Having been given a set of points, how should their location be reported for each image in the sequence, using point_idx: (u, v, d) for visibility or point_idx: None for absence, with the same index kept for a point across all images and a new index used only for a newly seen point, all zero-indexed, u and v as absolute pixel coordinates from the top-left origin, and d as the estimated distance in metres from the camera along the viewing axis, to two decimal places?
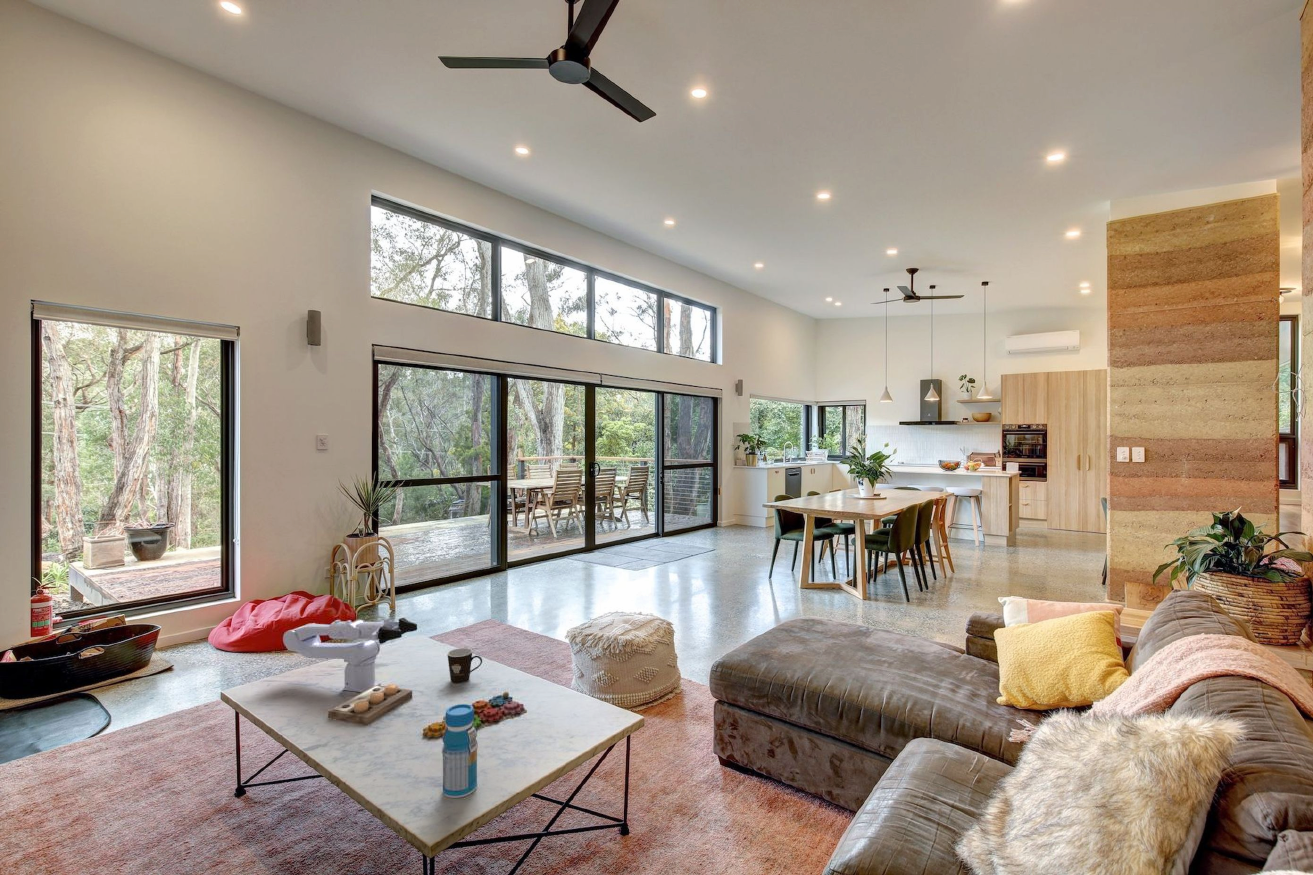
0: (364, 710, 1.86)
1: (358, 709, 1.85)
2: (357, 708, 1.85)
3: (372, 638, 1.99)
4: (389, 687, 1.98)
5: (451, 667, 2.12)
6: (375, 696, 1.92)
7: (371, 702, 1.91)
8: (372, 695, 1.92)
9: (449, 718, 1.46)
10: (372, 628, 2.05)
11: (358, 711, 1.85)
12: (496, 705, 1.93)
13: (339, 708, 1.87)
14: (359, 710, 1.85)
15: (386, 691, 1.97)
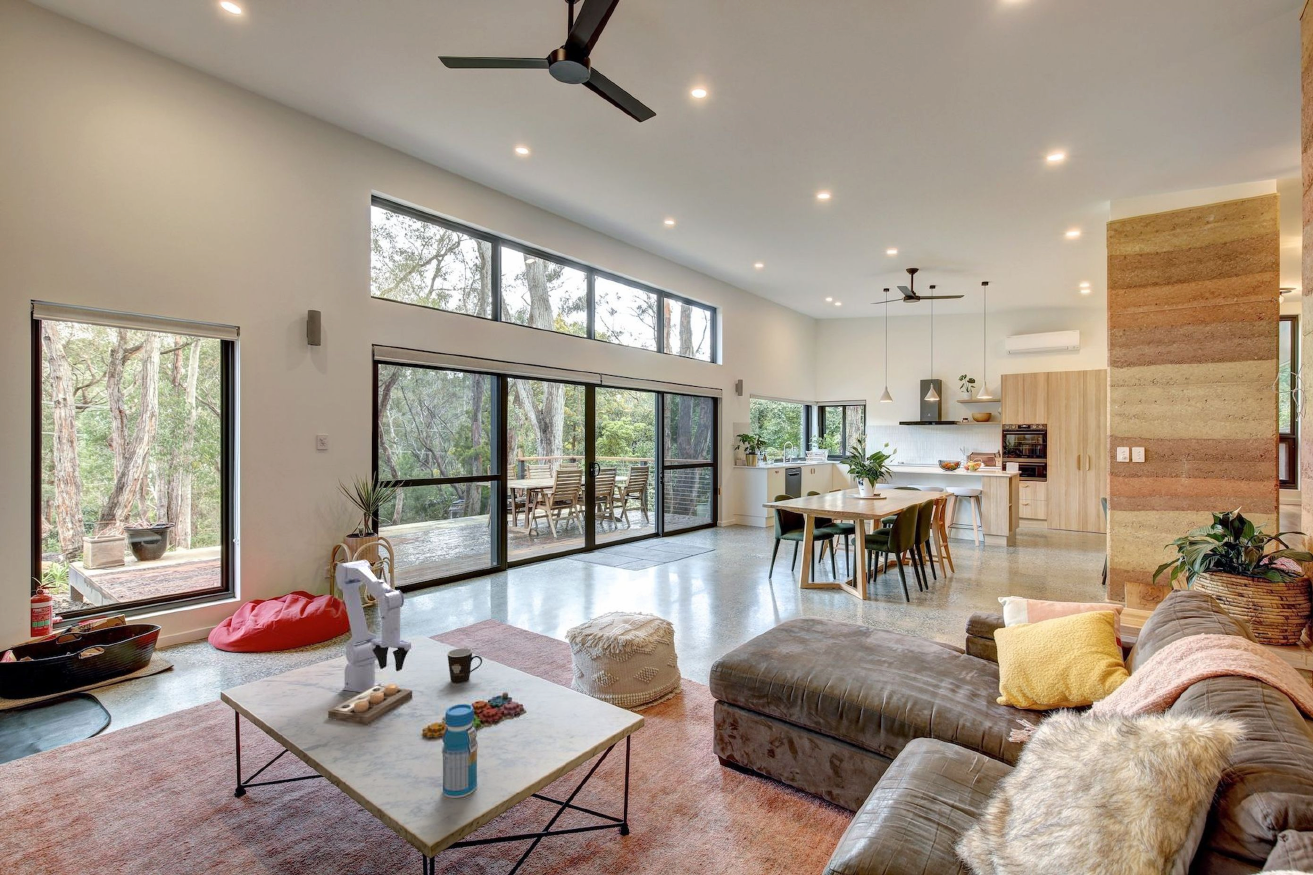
0: (364, 710, 1.86)
1: (358, 709, 1.85)
2: (357, 708, 1.85)
3: None
4: (389, 687, 1.98)
5: (451, 667, 2.12)
6: (375, 696, 1.92)
7: (371, 702, 1.91)
8: (372, 695, 1.92)
9: (449, 718, 1.46)
10: None
11: (358, 711, 1.85)
12: (495, 705, 1.93)
13: (339, 708, 1.87)
14: (359, 710, 1.85)
15: (386, 691, 1.97)
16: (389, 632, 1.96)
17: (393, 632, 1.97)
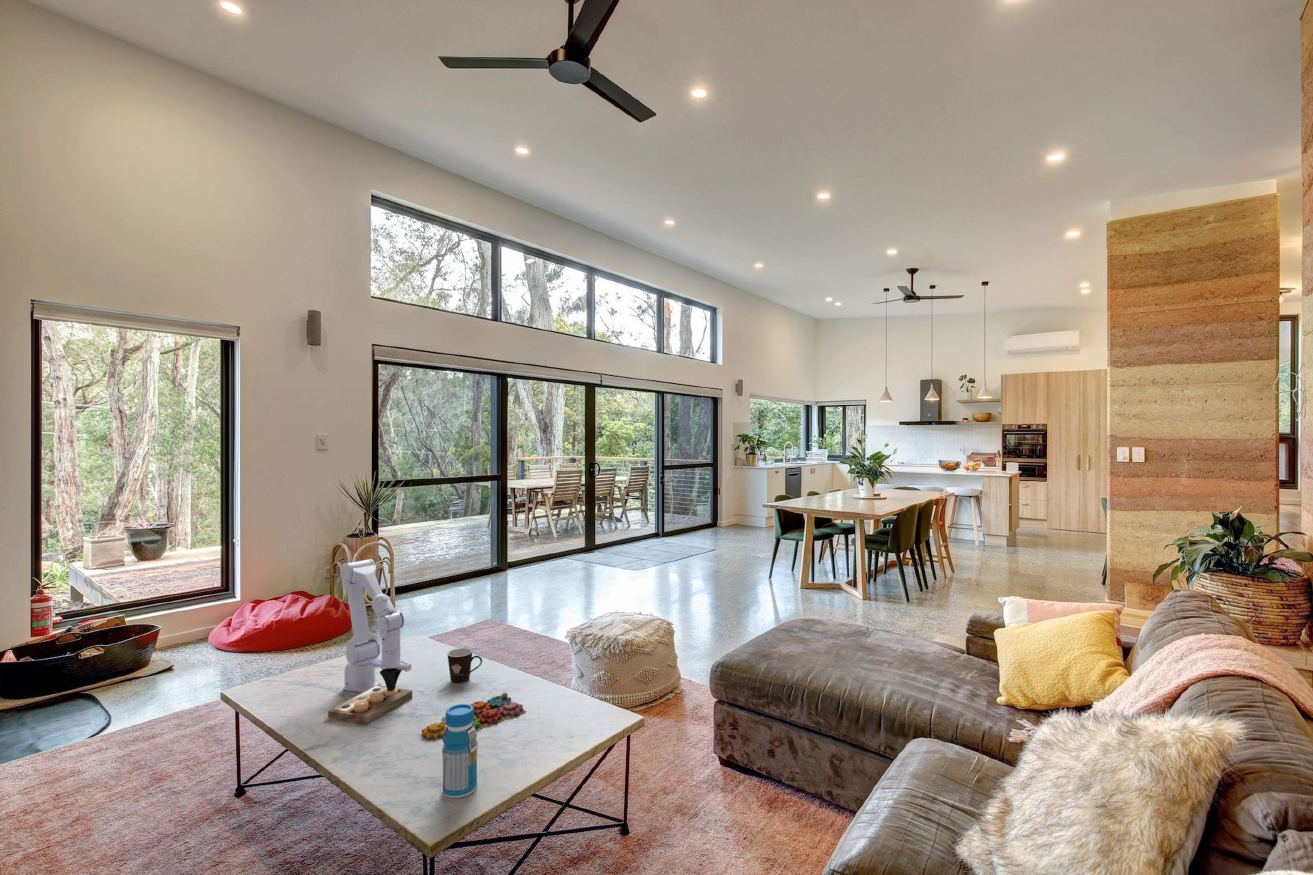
0: (364, 710, 1.86)
1: (358, 709, 1.85)
2: (357, 708, 1.85)
3: None
4: (389, 691, 1.98)
5: (451, 667, 2.12)
6: (375, 696, 1.92)
7: (371, 702, 1.91)
8: (372, 695, 1.92)
9: (449, 718, 1.46)
10: None
11: (358, 711, 1.85)
12: (495, 706, 1.92)
13: (339, 708, 1.87)
14: (359, 710, 1.85)
15: (386, 694, 1.97)
16: (389, 653, 1.96)
17: (393, 653, 1.97)
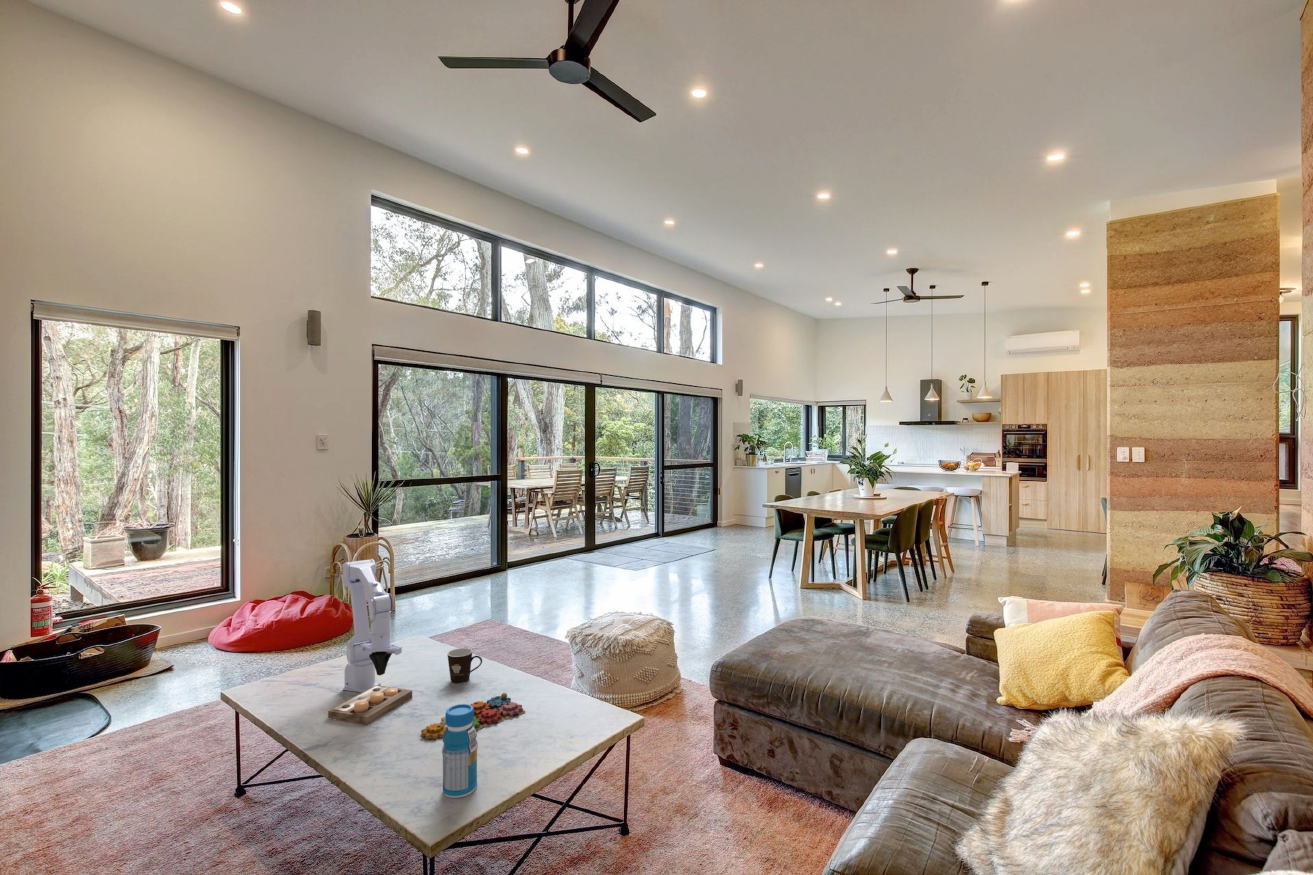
0: (364, 710, 1.86)
1: (358, 709, 1.85)
2: (357, 708, 1.85)
3: None
4: (389, 691, 1.98)
5: (451, 667, 2.12)
6: (375, 696, 1.92)
7: (371, 702, 1.91)
8: (372, 695, 1.92)
9: (449, 718, 1.46)
10: None
11: (358, 711, 1.85)
12: (494, 706, 1.92)
13: (339, 708, 1.87)
14: (359, 710, 1.85)
15: (386, 695, 1.97)
16: (379, 636, 1.92)
17: (383, 636, 1.92)
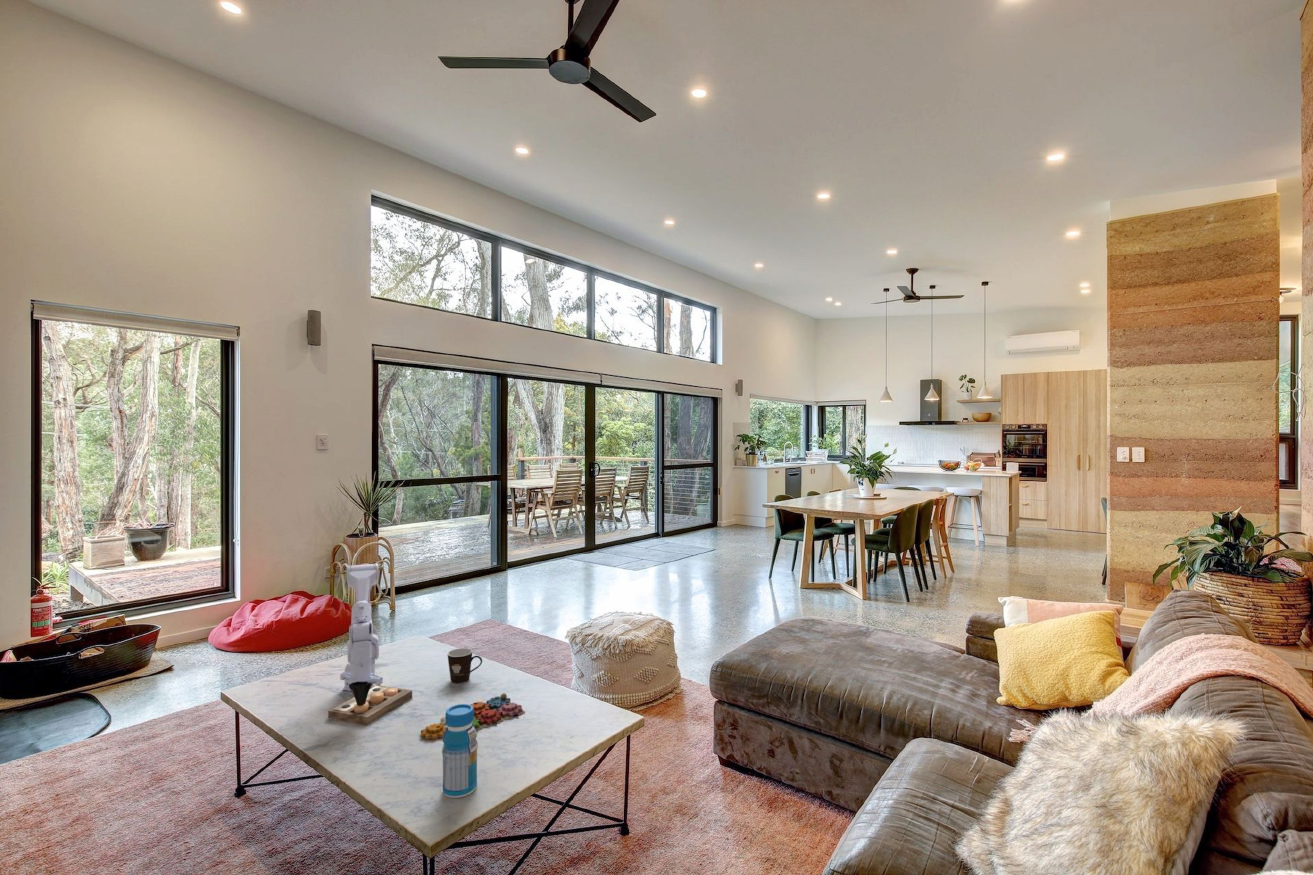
0: (364, 711, 1.86)
1: (358, 710, 1.85)
2: (357, 709, 1.85)
3: None
4: (389, 691, 1.98)
5: (451, 667, 2.12)
6: (375, 696, 1.92)
7: (371, 702, 1.91)
8: (372, 695, 1.92)
9: (449, 718, 1.46)
10: None
11: (358, 712, 1.85)
12: (494, 706, 1.92)
13: (339, 708, 1.87)
14: (359, 711, 1.85)
15: (386, 695, 1.97)
16: (359, 666, 1.84)
17: (363, 666, 1.85)
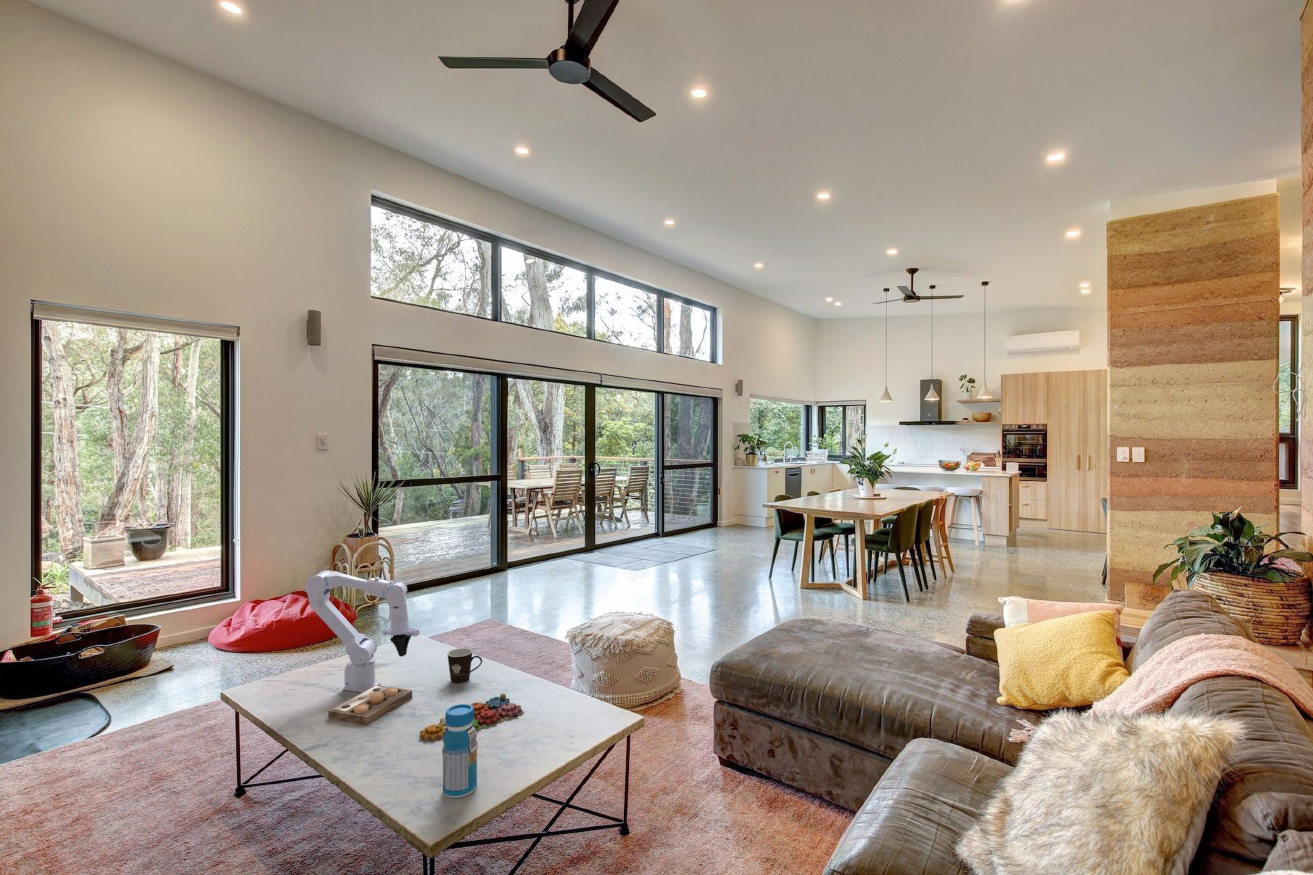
0: None
1: (358, 713, 1.85)
2: (357, 712, 1.85)
3: None
4: (389, 691, 1.98)
5: (451, 667, 2.12)
6: (375, 696, 1.92)
7: (371, 702, 1.91)
8: (372, 695, 1.92)
9: (449, 718, 1.46)
10: None
11: None
12: (493, 707, 1.92)
13: (339, 708, 1.87)
14: None
15: (386, 695, 1.97)
16: (397, 621, 2.08)
17: (401, 620, 2.09)
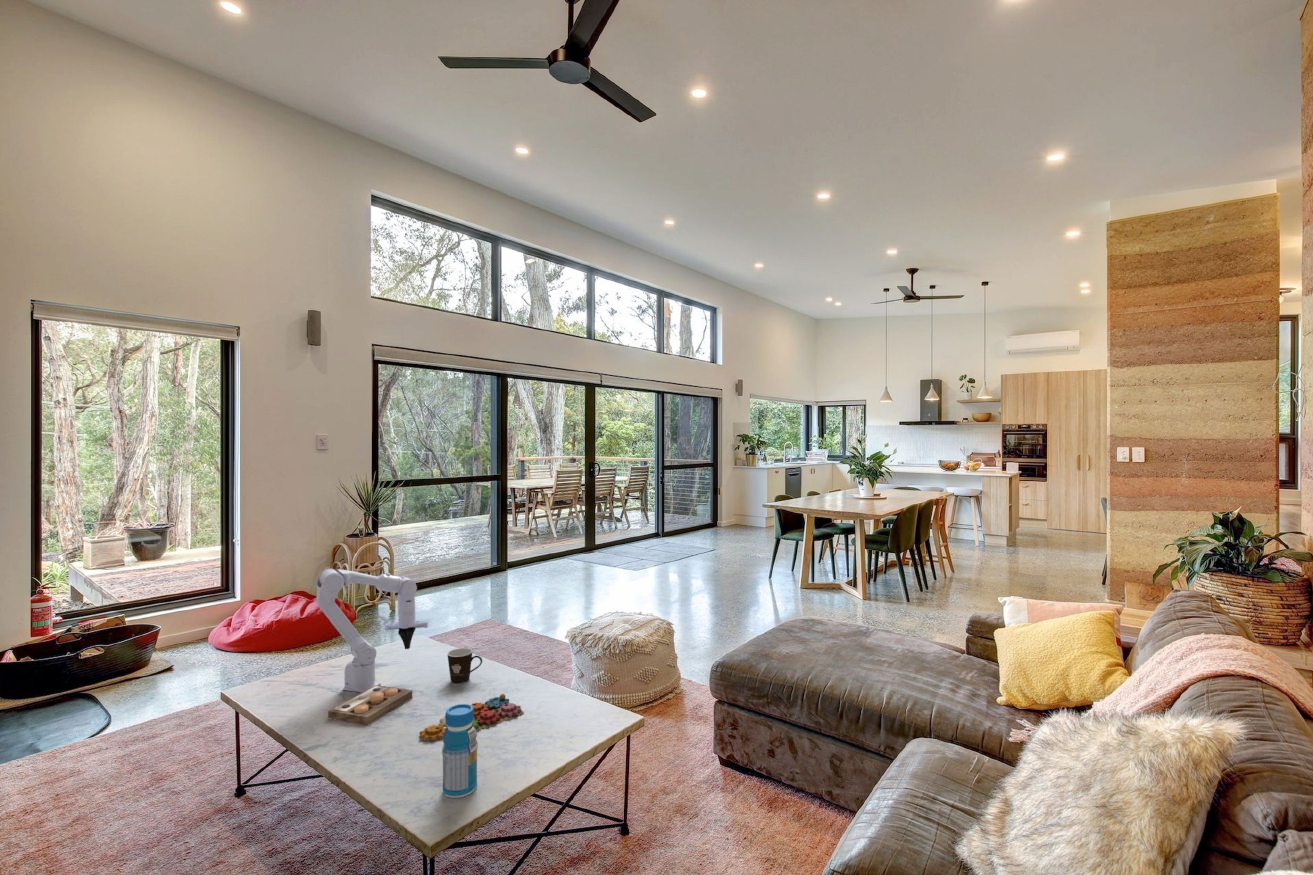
0: None
1: (358, 713, 1.85)
2: (357, 712, 1.85)
3: None
4: (389, 691, 1.98)
5: (451, 667, 2.12)
6: (375, 696, 1.92)
7: (371, 702, 1.91)
8: (372, 695, 1.92)
9: (449, 718, 1.46)
10: (398, 614, 2.17)
11: None
12: (493, 707, 1.91)
13: (339, 708, 1.87)
14: None
15: (386, 695, 1.97)
16: (409, 614, 2.16)
17: (412, 613, 2.17)
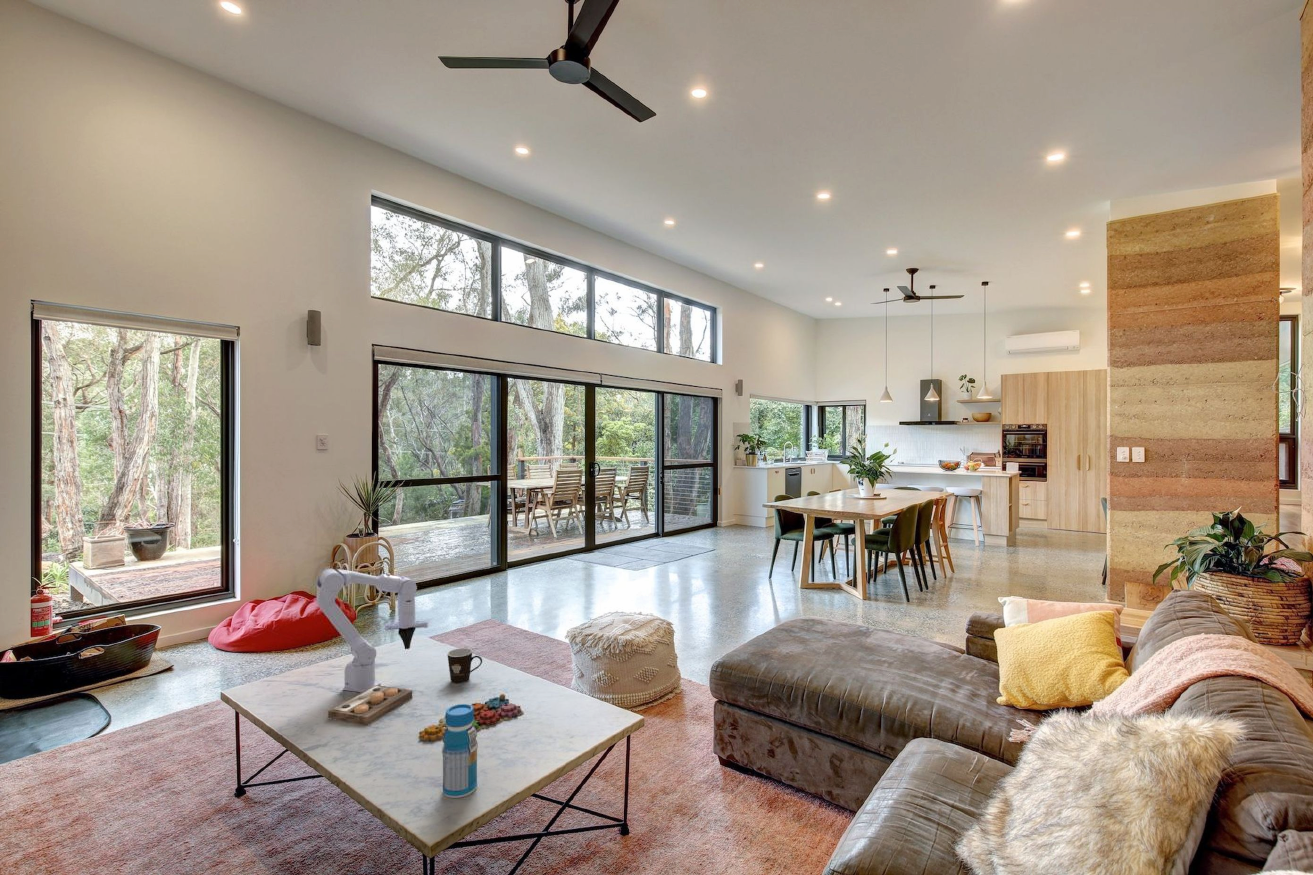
0: None
1: (358, 713, 1.85)
2: (357, 712, 1.85)
3: None
4: (389, 691, 1.98)
5: (451, 667, 2.12)
6: (375, 696, 1.92)
7: (371, 702, 1.91)
8: (372, 695, 1.92)
9: (449, 718, 1.46)
10: (398, 614, 2.17)
11: None
12: (493, 707, 1.91)
13: (339, 708, 1.87)
14: None
15: (386, 695, 1.97)
16: (409, 614, 2.16)
17: (412, 613, 2.17)
